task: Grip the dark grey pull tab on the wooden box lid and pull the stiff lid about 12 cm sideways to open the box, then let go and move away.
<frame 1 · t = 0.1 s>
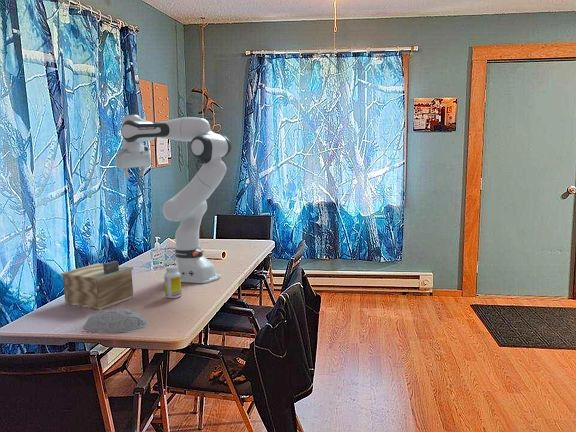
hand: (134, 176, 264), 48 cm above the table, tool pointing down, fingers open, 8 cm apart
supplement bottle: (173, 296, 225), on the table
grey oval stone: (116, 326, 192), on the table
wooden box: (99, 300, 222), on the table
lid: (97, 266, 220), point 15 cm above the table, slide at 0.0 cm
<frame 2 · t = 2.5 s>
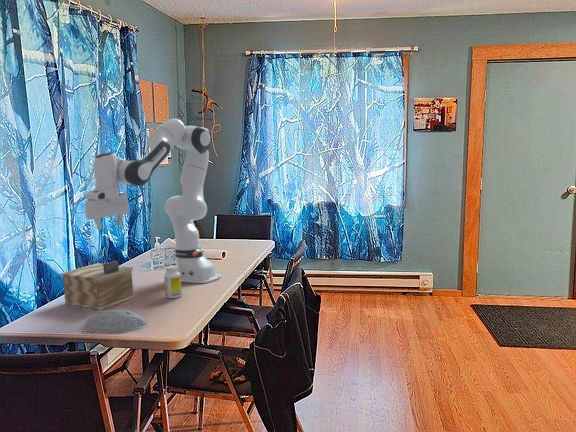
hand: (109, 227, 216), 31 cm above the table, tool pointing down, fingers open, 8 cm apart
nothing on the table moved.
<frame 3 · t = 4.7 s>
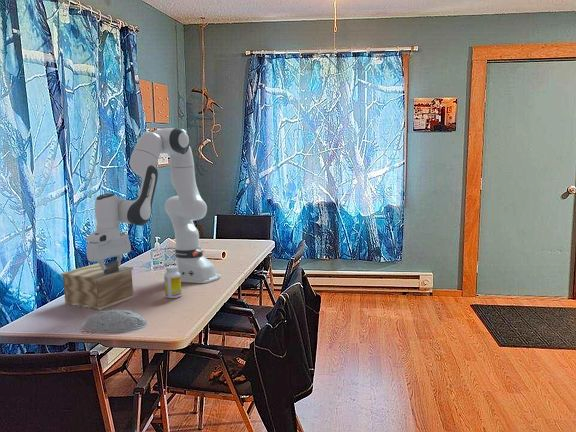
hand: (111, 267, 216), 15 cm above the table, tool pointing down, fingers closed on lid, 6 cm apart
lid: (97, 266, 220), point 15 cm above the table, slide at 0.0 cm, touching gripper
everything else where it was.
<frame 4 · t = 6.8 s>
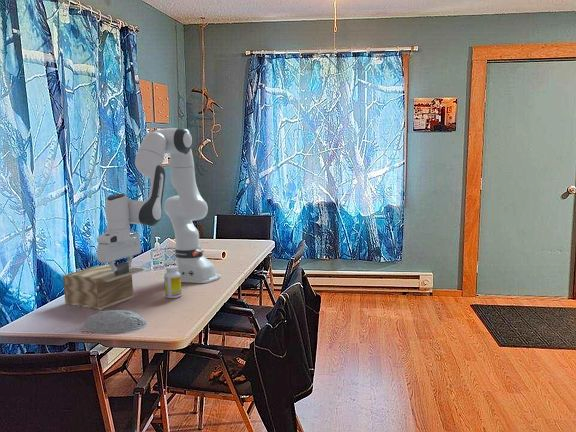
hand: (121, 269, 214), 15 cm above the table, tool pointing down, fingers closed on lid, 6 cm apart
lid: (107, 267, 217), point 15 cm above the table, slide at 5.8 cm, touching gripper
everything else where it was.
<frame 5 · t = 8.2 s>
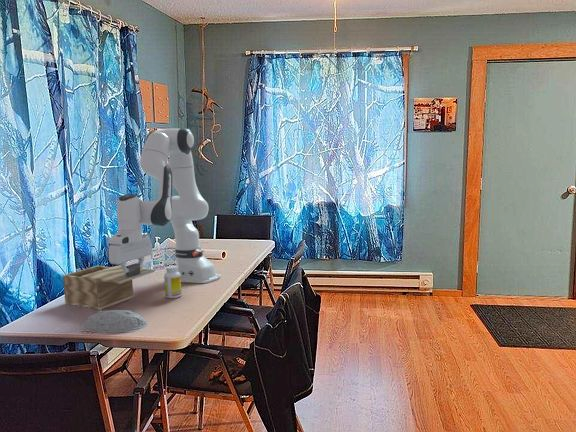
hand: (132, 270, 211), 15 cm above the table, tool pointing down, fingers closed on lid, 6 cm apart
lid: (118, 269, 215), point 15 cm above the table, slide at 11.8 cm, touching gripper
everything else where it was.
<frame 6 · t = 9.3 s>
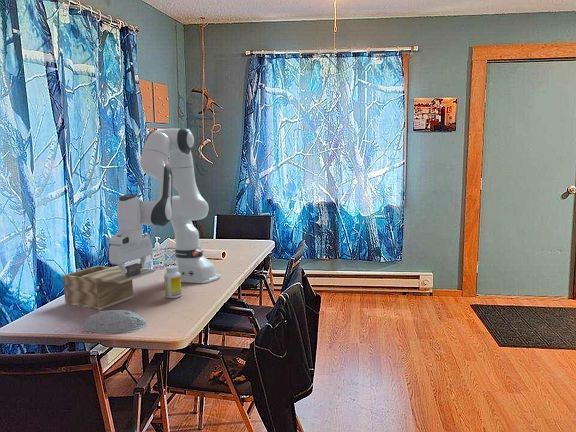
hand: (133, 270, 211), 15 cm above the table, tool pointing down, fingers open, 8 cm apart
lid: (118, 269, 215), point 15 cm above the table, slide at 12.0 cm
everything else where it was.
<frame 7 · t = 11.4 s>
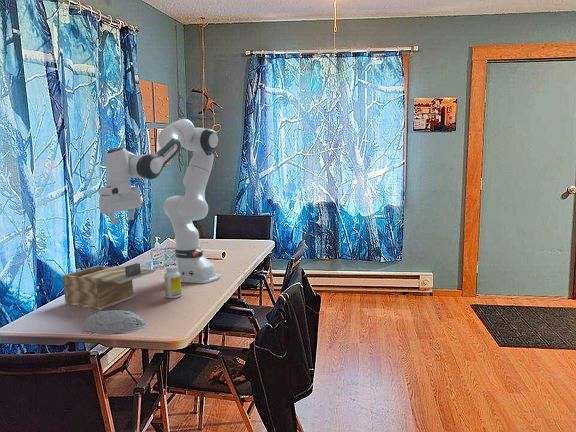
hand: (122, 221, 219), 33 cm above the table, tool pointing down, fingers open, 8 cm apart
nothing on the table moved.
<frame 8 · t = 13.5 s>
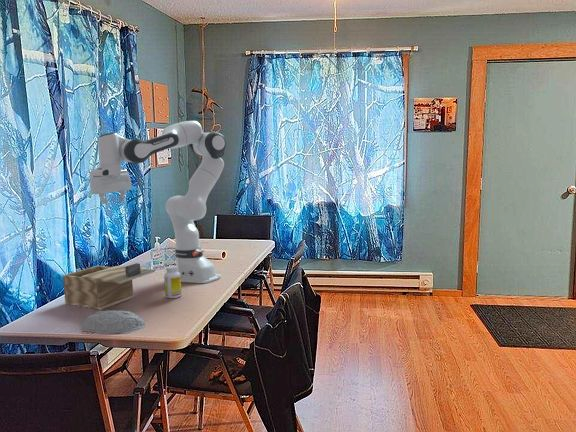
hand: (113, 202, 232), 39 cm above the table, tool pointing down, fingers open, 8 cm apart
at the end: lid slide at 12.0 cm; the gripper is holding nothing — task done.
